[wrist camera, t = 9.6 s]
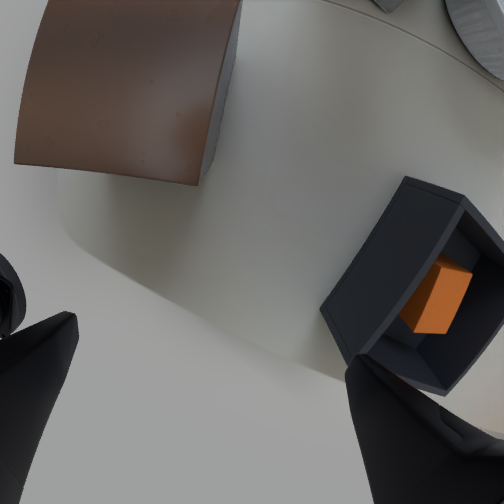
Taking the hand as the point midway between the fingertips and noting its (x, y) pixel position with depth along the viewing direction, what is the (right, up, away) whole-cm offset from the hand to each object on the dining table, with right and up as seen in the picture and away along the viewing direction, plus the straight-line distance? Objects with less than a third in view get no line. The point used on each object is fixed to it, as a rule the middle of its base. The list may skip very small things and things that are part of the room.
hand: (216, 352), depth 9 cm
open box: (+14, +1, +14) cm, 20 cm away
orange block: (+14, +1, +13) cm, 19 cm away
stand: (-4, +12, +8) cm, 15 cm away
